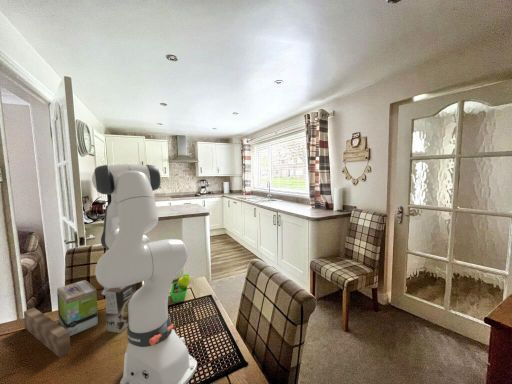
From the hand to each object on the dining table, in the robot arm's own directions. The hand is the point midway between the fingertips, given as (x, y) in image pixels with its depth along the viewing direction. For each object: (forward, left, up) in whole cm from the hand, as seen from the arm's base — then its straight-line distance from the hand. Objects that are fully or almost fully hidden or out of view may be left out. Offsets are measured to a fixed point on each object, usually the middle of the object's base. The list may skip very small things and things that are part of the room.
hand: (104, 295), depth 98 cm
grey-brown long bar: (0, +20, -7) cm, 21 cm away
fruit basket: (-22, -24, -7) cm, 33 cm away
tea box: (0, +10, -7) cm, 12 cm away
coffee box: (-17, +2, -7) cm, 19 cm away
